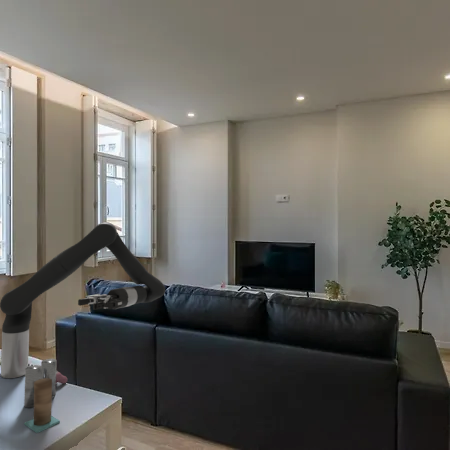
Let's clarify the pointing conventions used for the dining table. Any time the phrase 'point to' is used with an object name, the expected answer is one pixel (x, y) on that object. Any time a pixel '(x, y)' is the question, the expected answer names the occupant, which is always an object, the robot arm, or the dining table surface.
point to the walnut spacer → (42, 401)
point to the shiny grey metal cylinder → (49, 372)
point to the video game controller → (60, 378)
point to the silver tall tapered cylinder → (31, 384)
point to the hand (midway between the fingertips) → (86, 304)
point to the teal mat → (41, 427)
